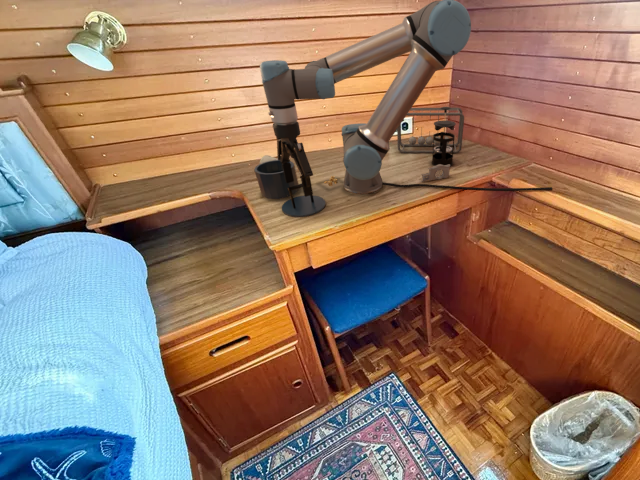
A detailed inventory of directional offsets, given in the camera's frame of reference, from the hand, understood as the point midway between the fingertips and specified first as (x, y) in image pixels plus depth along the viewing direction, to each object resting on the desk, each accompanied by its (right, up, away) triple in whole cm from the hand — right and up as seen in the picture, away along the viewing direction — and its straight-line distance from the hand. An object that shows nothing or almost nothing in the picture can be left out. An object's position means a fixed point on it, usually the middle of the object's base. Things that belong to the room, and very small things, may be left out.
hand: (299, 188), depth 111 cm
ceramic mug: (-18, +13, +29) cm, 36 cm away
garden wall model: (+48, +9, +22) cm, 54 cm away
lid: (0, -5, +4) cm, 7 cm away
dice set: (+7, +6, +20) cm, 22 cm away
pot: (-12, +2, +15) cm, 19 cm away
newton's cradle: (+48, +30, +49) cm, 75 cm away
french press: (+53, +20, +35) cm, 67 cm away
